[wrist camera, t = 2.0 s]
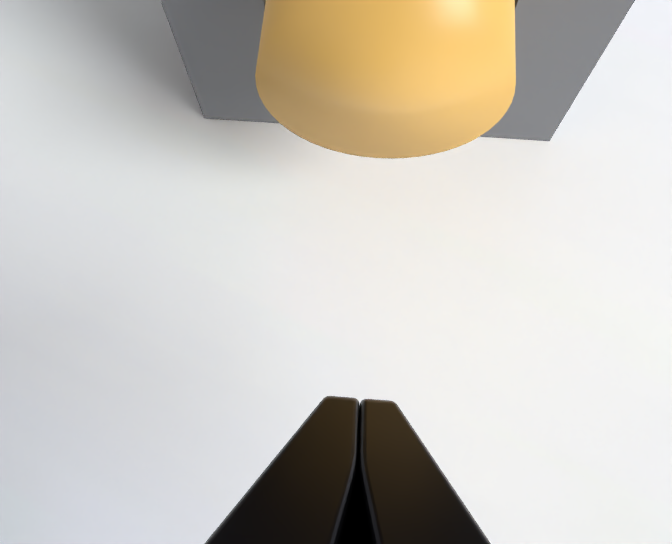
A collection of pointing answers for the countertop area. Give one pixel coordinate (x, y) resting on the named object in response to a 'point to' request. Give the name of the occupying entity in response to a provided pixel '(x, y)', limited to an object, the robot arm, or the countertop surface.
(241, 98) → the block
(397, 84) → the button
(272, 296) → the countertop surface
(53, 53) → the countertop surface
